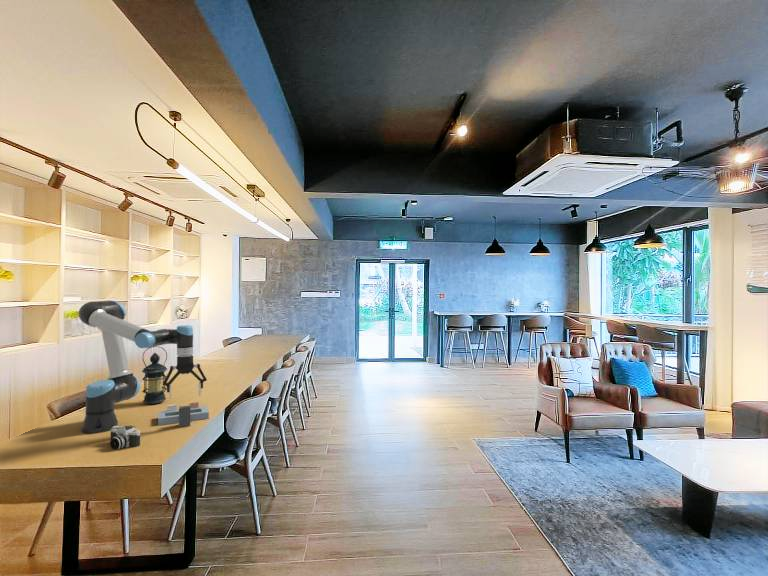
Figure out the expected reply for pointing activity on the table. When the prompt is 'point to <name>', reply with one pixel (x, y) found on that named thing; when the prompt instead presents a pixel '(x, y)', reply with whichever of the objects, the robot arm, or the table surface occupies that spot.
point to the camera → (124, 437)
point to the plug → (184, 416)
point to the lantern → (154, 380)
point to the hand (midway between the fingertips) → (185, 396)
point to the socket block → (173, 414)
